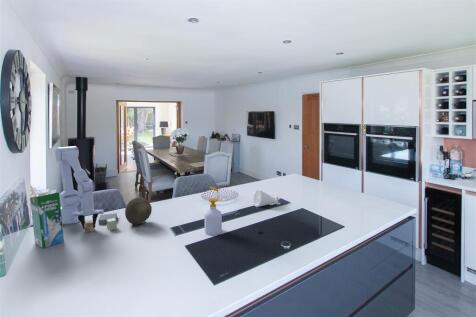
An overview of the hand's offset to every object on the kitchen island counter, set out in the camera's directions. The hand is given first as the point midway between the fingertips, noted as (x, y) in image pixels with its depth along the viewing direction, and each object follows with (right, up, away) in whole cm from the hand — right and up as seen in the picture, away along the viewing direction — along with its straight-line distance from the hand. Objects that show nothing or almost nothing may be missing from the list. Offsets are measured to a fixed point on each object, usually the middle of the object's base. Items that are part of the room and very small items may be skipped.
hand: (89, 228), depth 146 cm
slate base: (+3, +1, +14) cm, 14 cm away
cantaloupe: (+23, 0, +10) cm, 25 cm away
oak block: (0, -1, 0) cm, 1 cm away
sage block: (+11, -1, +3) cm, 11 cm away
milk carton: (-12, -4, -14) cm, 18 cm away
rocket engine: (+101, +4, +43) cm, 110 cm away
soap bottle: (+67, -2, -1) cm, 67 cm away
